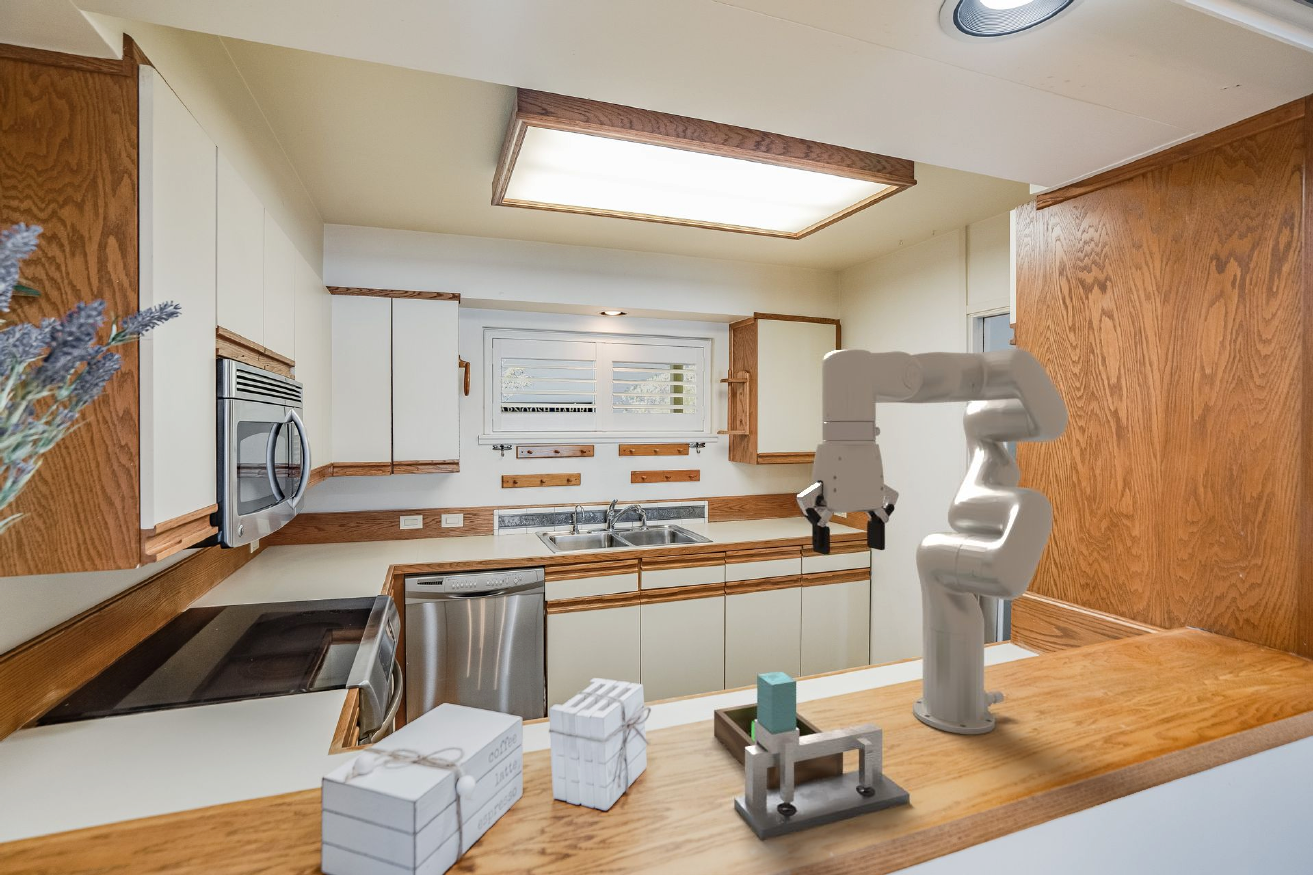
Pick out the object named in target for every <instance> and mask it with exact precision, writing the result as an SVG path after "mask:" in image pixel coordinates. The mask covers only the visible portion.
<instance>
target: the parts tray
mask: <svg viewBox="0 0 1313 875" xmlns="http://www.w3.org/2000/svg"><path fill="white" fill-rule="evenodd" d="M755 719H757V702H754V703H749V704H742V705H736V706H730V707H723V708H718V709H713V736H715V738H716V739H717V740H718V741H719V742H720V743H721V744H722V745H723V746H724V747H725V748H726V749H727V750H728V751H729V752H730V753H731V755H733V757H735V758H736V760H738V761H739V762H740V763H741V764H742V765H743V767H745V747H749V746H754V745H755V741H754V740H753V739H752V738H751V736H750V735H748V734H747V733H750V732H751V733H752V721H754V720H755ZM796 727H797V728H798V729H799V737H801V736H806V735H812V734H817V733H822V732H823V731H822V730H821V729H819V728H818V727H817V726H815V724H814V723H812V722H810V721H809V720H807V719H806V718H805V717H804V716H802V715H800V714H799V713H798V712H797V711H796ZM839 774H844V752H841V753H836V754H831V755H826V756H821V757H817V758H812V759H807V760H802V761H797V762H794V784H799V783H803V782H808V781H812V780H817V779H821V778H826V777H830V776H835V775H839ZM776 788H780V765H778V766H773V767H768V768H767V790H772V789H776Z"/></svg>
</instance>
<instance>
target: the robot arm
mask: <svg viewBox="0 0 1313 875" xmlns="http://www.w3.org/2000/svg"><path fill="white" fill-rule="evenodd" d="M821 362H822V363H821V364H822V366H821V367H822V368H821V371H822V372H821V381H822V382H821V384H822V387H821V388H822V389H821V390H822V396H821V398H822V400H821V402H822V409H821V410H822V418H821V419H822V425H821V426H822V428H821V430H822V444H821V443H819V444H817V445H816V449H815V453H814V457H813V458H814V460H813V466H812V474H811V475H812V476H811V486H810V487H808V488H807V489H805V490H804V491H802V492H801V493H799V494H797V495H796V501H797V504H798V506H799V508H800V509H801V514H802V515H803V516H804V518H805V519H807V520H808V521H807V522H808V524H809V525H812V526H811V528H812V530H811V531H812V532H811V533H812V534H811V541H812V550H813V552H814V553H816V554H817V553H818V554H821V555H823V556H825V555H828V556H829V555H830V553H831V528H830V526H828V525H827V524H828V522H829V521H830V519H831V518H832V516H833V515H835V514H834V513H837V514H839V513H841V514H842V513H860V512H862V513H863V512H865V513H866V515H867V516H868V518H869V519H870V520H867V523H866V545H867V547H868V548H869V549H874V550H879V551H884V550H885V549H886V523H889V521H890V516H891V515H892V514H893V512H894V511H895V507H896V504H897V501H898V499H899V496H900V494H899V492H898V491H896V489H893V488H891V487H890V486H888V485H887V484H885V480H884V477H885V476H884V468H883V467H884V466H883V460H882V455H881V450H880V444H878V443H877V439H876V438H877V436H880V435H881V434H880V433H881V429H880V427H879V426H876V425H877V423H876V421H877V419H876V418H877V417H876V414H877V404H881V403H883V404H884V403H885V404H887V403H903V404H939V403H941V404H942V403H960V402H961V403H964V402H967V403H968V402H971V403H969V404H968V405H967V407H965V410H964V412H963V417H962V424H963V430H964V434H965V439H966V443H967V448H968V452H969V459H970V460H969V466H968V468H967V470H966V472H965V474H964V476H963V479H962V480H961V482H960V485H959V486H958V487H957V488H958V489H957V490H956V493H955V494H954V497H953V498H952V500H951V503H950V505H949V509H948V512H947V521H948V523H949V526H950V527H951V529H952V530H954V532H952V531H937V532H932V533H929V534H928V535H926V536H924V538H922V539H921V540H920V541H919V543H918V545H917V548H916V553H915V561H916V563H915V565H916V569H917V573H918V574H917V575H918V578H919V584H920V589H921V590H920V591H921V602H922V604H921V605H922V697H920V698H917V699H916V700H915V701H914V702H913V704H912V712H913V714H914V717H916V718H917V719H918V720H919V721H921V722H922V723H924V724H926V725H928V726H929V727H933V728H935V729H938V730H941V731H943V732H944V731H945V732H949V733H953V734H961V735H982V734H985V733H988V732H991V731H993V729H994V728H995V727H996V725H995V724H996V720H995V717H994V714H992V713H991V711H989V707H991V706H992V705H995V704H999V703H1003V702H1004V701H1005V696H1004V694H1003V693H1002V691H1000V690H994V691H989V692H987V691H986V690H985V618H984V614H983V610H982V607H981V606H980V604H979V602H978V599H977V598H976V596H975V595H978V596H982V597H986V598H992V599H997V600H1004V601H1013V600H1017V599H1018V598H1020V597H1022V596H1023V595H1024V594H1025V593H1026V591H1027V590H1028V588H1029V586H1030V585H1031V583H1032V580H1033V578H1034V575H1035V572H1036V569H1037V568H1038V565H1039V562H1040V561H1041V558H1042V556H1043V553H1044V550H1046V546H1047V543H1048V541H1049V538H1050V536H1051V535H1050V534H1051V532H1052V529H1053V521H1054V519H1053V518H1054V517H1053V508H1052V505H1051V502H1050V500H1049V498H1047V496H1046V495H1045V494H1044V493H1043V492H1041V491H1039V490H1037V489H1036V490H1035V489H1034V488H1028V487H1022V486H1020V487H1019V484H1020V480H1021V476H1022V474H1021V473H1022V472H1021V468H1020V467H1019V465H1018V463H1017V461H1016V459H1015V458H1014V457H1013V456H1012V455H1011V453H1010V452H1009V451H1008V449H1007V448H1006V446H1005V445H1004V443H1049V442H1054V441H1057V440H1058V439H1059V438H1061V437H1063V435H1064V434H1065V432H1066V430H1067V427H1068V423H1069V413H1068V409H1067V406H1066V403H1065V401H1064V399H1063V397H1061V394H1060V393H1059V391H1058V389H1057V387H1056V386H1055V384H1054V382H1053V381H1052V379H1051V378H1050V376H1049V374H1048V372H1047V371H1046V369H1045V367H1043V365H1042V364H1041V363H1040V361H1039V360H1038V359H1037V358H1036V357H1035V355H1033V353H1031V352H1029V351H1028V350H1026V349H1023V348H1010V349H1001V350H1000V349H999V350H993V351H986V352H947V351H933V352H931V351H930V352H921V353H916V354H910V353H908V352H903V351H899V350H896V351H887V352H886V351H885V352H884V351H883V352H871V351H869V350H866V349H859V348H858V349H857V348H855V349H853V348H851V349H848V348H847V349H839V350H833V351H831V352H828V353H826V354H825V355H824V357H823V359H822V361H821Z"/></svg>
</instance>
